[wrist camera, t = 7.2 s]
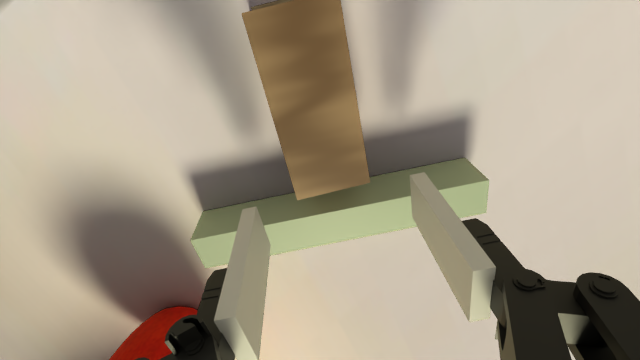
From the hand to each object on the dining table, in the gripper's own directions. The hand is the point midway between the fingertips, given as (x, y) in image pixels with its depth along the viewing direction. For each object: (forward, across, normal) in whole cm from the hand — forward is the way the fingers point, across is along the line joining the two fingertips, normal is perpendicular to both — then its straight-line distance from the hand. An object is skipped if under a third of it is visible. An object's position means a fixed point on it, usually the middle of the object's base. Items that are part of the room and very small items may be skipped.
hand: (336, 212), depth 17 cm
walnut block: (+3, 0, +1) cm, 3 cm away
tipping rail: (+4, 0, -2) cm, 5 cm away
